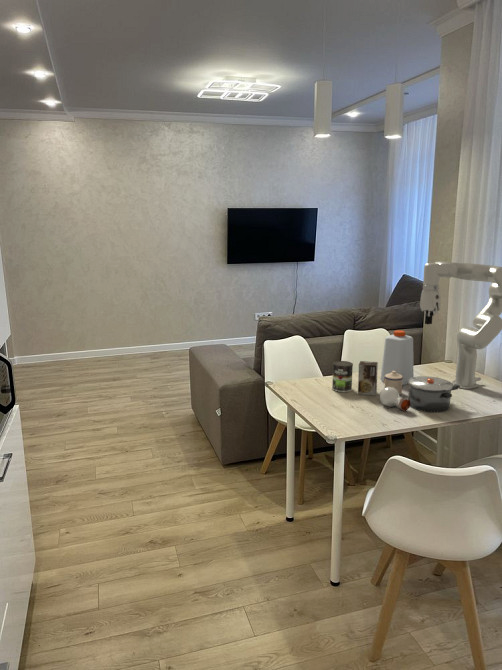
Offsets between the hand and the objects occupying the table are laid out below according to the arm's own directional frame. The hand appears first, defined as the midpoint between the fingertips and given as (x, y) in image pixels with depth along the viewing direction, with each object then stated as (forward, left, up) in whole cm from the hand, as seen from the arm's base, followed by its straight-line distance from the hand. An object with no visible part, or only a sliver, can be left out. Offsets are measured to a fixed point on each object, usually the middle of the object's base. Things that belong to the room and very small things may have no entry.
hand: (428, 323), depth 267 cm
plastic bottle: (+3, -18, -35) cm, 40 cm away
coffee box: (+30, -8, -35) cm, 47 cm away
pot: (+14, +19, -35) cm, 42 cm away
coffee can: (+38, -19, -35) cm, 55 cm away
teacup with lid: (+18, -4, -35) cm, 40 cm away
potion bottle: (+31, +14, -35) cm, 49 cm away
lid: (+14, +19, -25) cm, 34 cm away
